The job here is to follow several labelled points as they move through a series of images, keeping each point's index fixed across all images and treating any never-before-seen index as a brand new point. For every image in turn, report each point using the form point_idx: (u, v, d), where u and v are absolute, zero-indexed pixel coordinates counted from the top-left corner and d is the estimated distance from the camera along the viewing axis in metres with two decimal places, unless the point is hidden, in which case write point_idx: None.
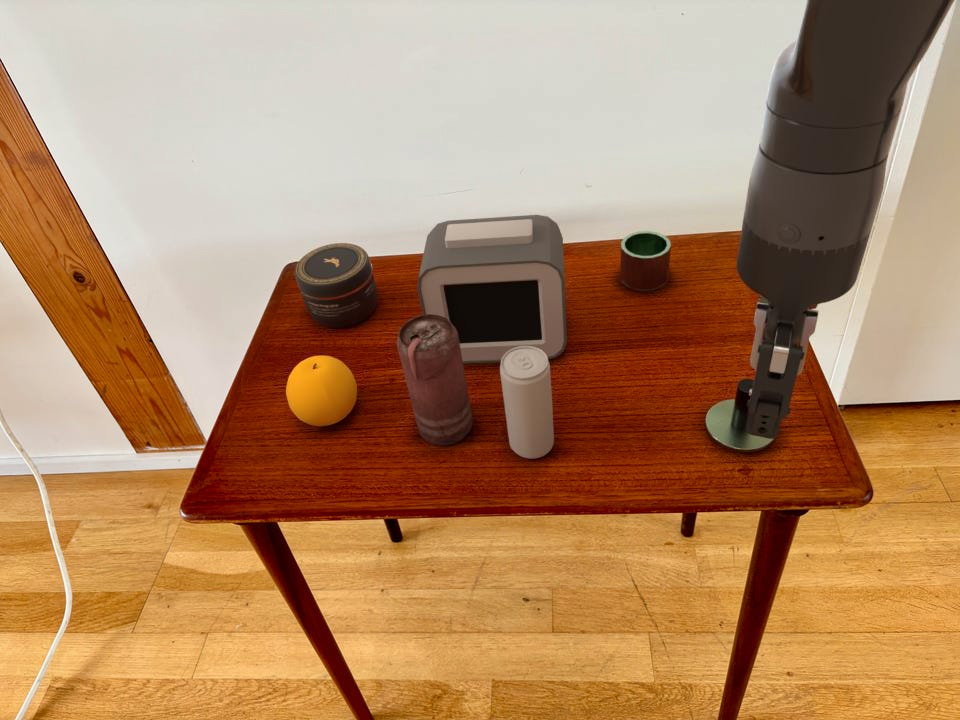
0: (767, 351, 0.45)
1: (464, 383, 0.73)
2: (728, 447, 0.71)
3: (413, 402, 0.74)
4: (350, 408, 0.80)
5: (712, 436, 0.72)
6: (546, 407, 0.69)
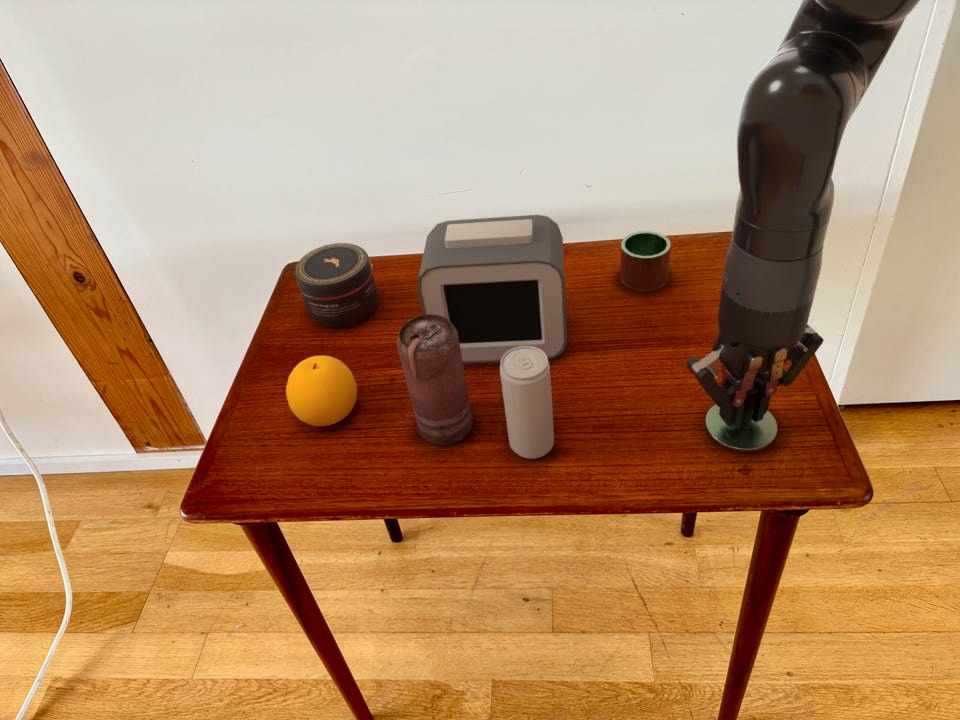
0: (688, 366, 0.66)
1: (464, 383, 0.73)
2: (728, 447, 0.71)
3: (413, 402, 0.74)
4: (350, 408, 0.80)
5: (712, 436, 0.72)
6: (546, 407, 0.69)
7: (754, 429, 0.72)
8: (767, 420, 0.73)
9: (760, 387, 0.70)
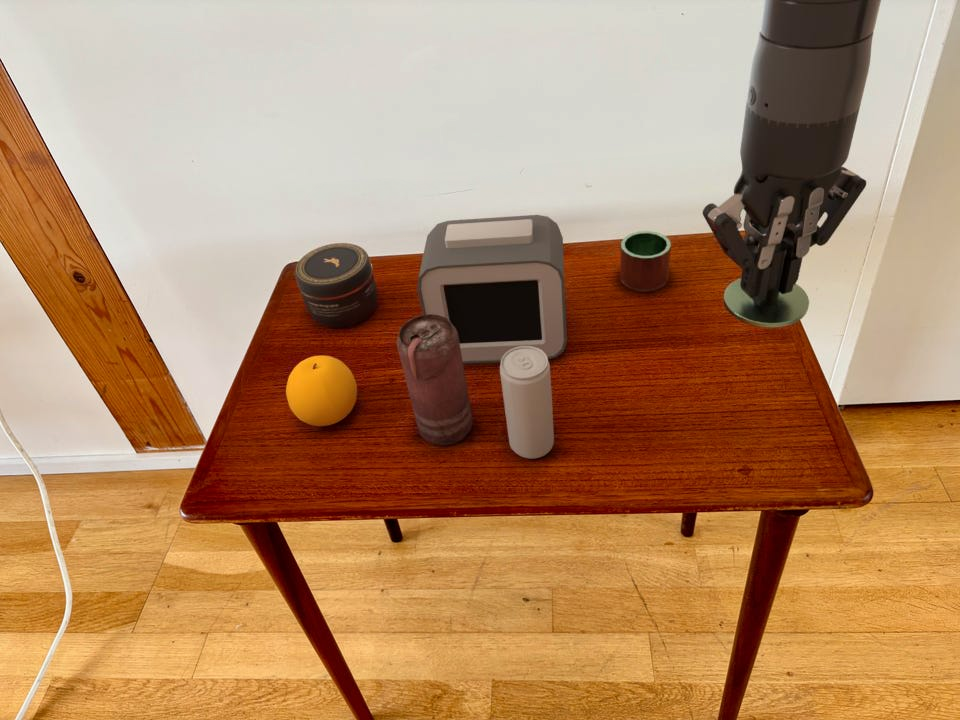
0: (705, 214, 0.55)
1: (464, 383, 0.73)
2: (751, 322, 0.60)
3: (413, 402, 0.74)
4: (350, 408, 0.80)
5: (732, 312, 0.62)
6: (546, 407, 0.69)
7: (782, 303, 0.62)
8: (797, 293, 0.62)
9: (790, 247, 0.59)
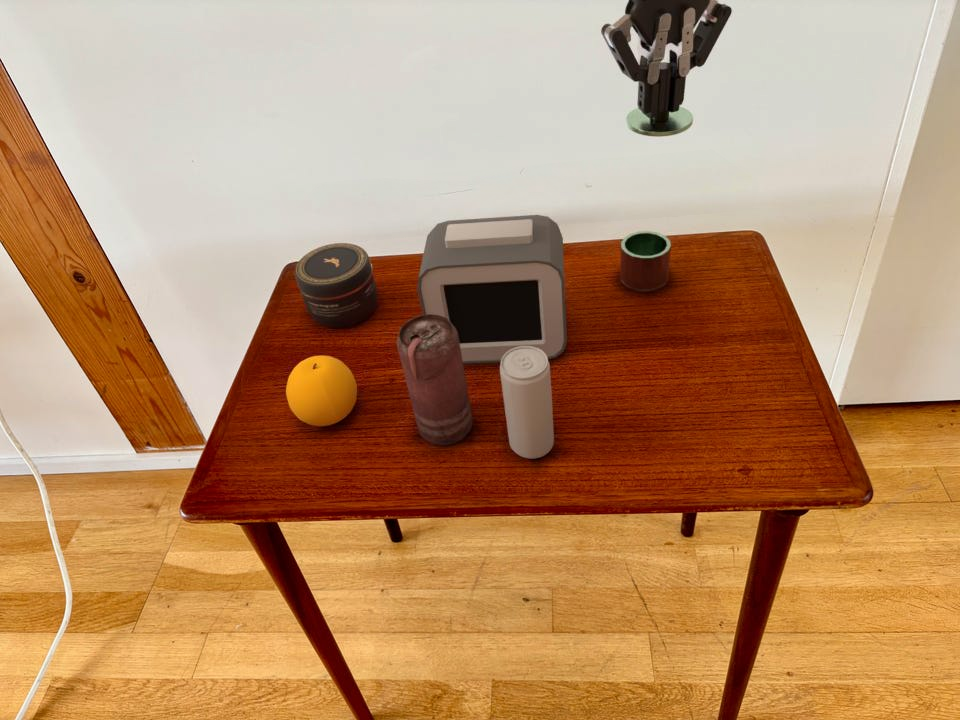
0: (603, 32, 0.69)
1: (464, 383, 0.73)
2: (645, 133, 0.74)
3: (413, 402, 0.74)
4: (350, 408, 0.80)
5: (631, 127, 0.76)
6: (546, 407, 0.69)
7: (671, 120, 0.75)
8: (684, 114, 0.76)
9: (674, 68, 0.73)
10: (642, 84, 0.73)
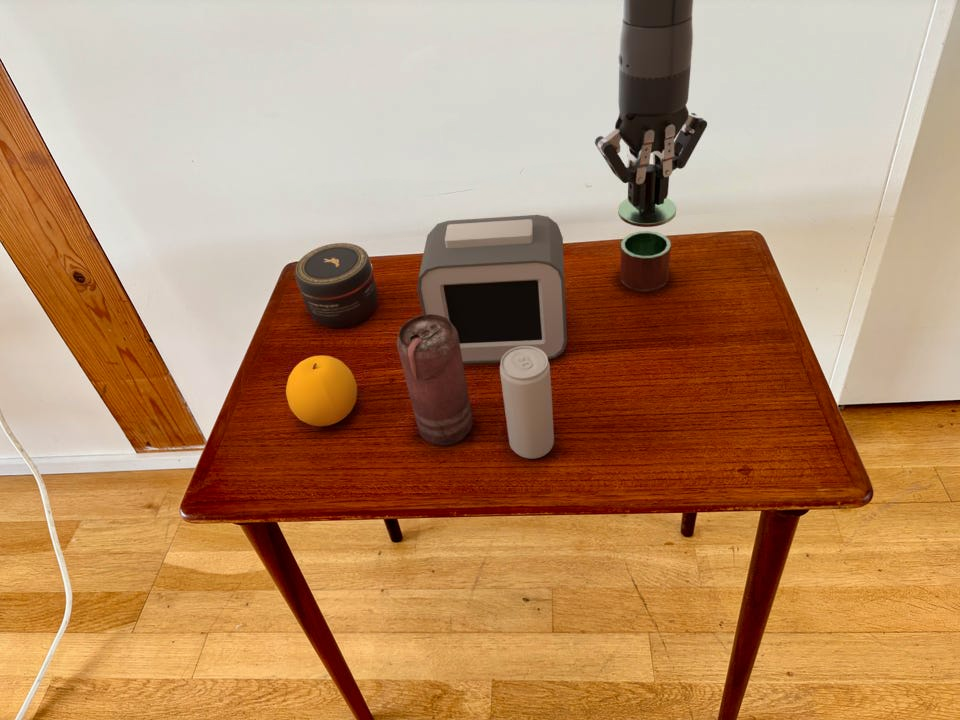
0: (596, 143, 0.81)
1: (464, 383, 0.73)
2: (634, 224, 0.86)
3: (413, 402, 0.74)
4: (350, 408, 0.80)
5: (622, 217, 0.87)
6: (546, 407, 0.69)
7: (657, 211, 0.87)
8: (668, 205, 0.88)
9: (659, 170, 0.84)
10: (631, 183, 0.85)
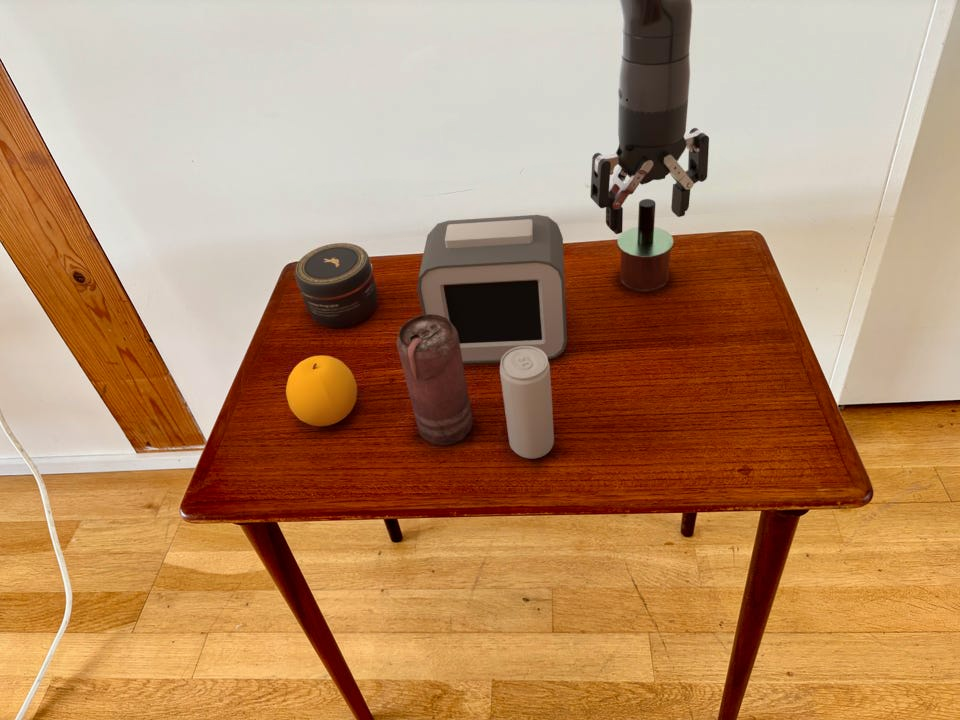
0: (594, 157, 0.82)
1: (464, 383, 0.73)
2: (633, 256, 0.89)
3: (413, 402, 0.74)
4: (350, 408, 0.80)
5: (621, 250, 0.90)
6: (546, 407, 0.69)
7: (655, 244, 0.90)
8: (666, 238, 0.91)
9: None
10: (608, 208, 0.86)
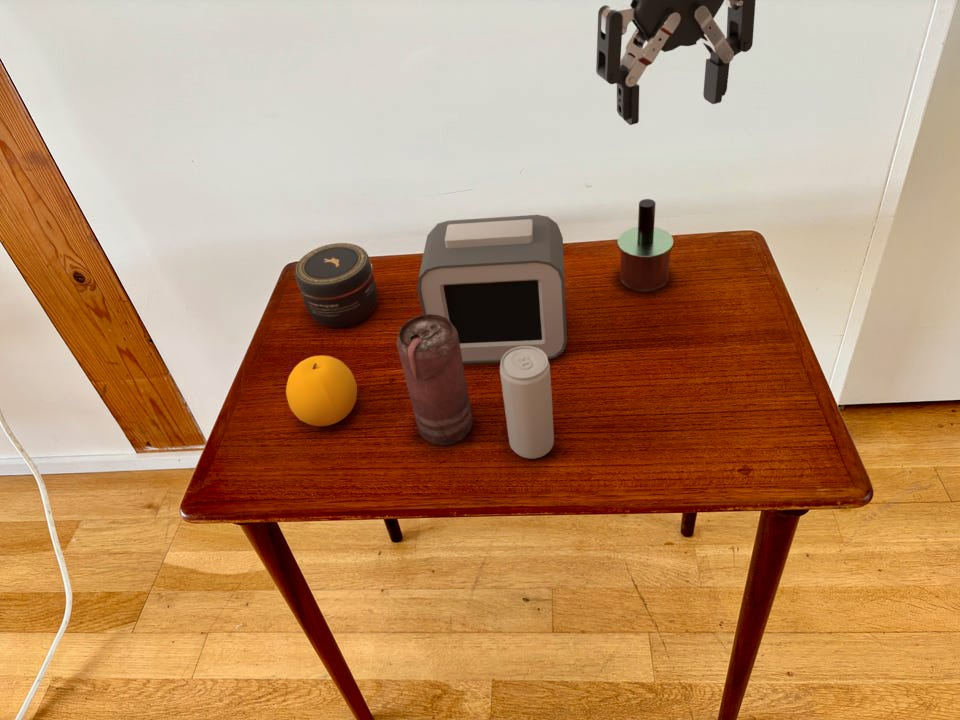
0: (601, 11, 0.61)
1: (464, 383, 0.73)
2: (633, 256, 0.89)
3: (413, 402, 0.74)
4: (350, 408, 0.80)
5: (621, 250, 0.90)
6: (546, 407, 0.69)
7: (655, 244, 0.90)
8: (666, 238, 0.91)
9: (716, 54, 0.65)
10: (620, 87, 0.65)
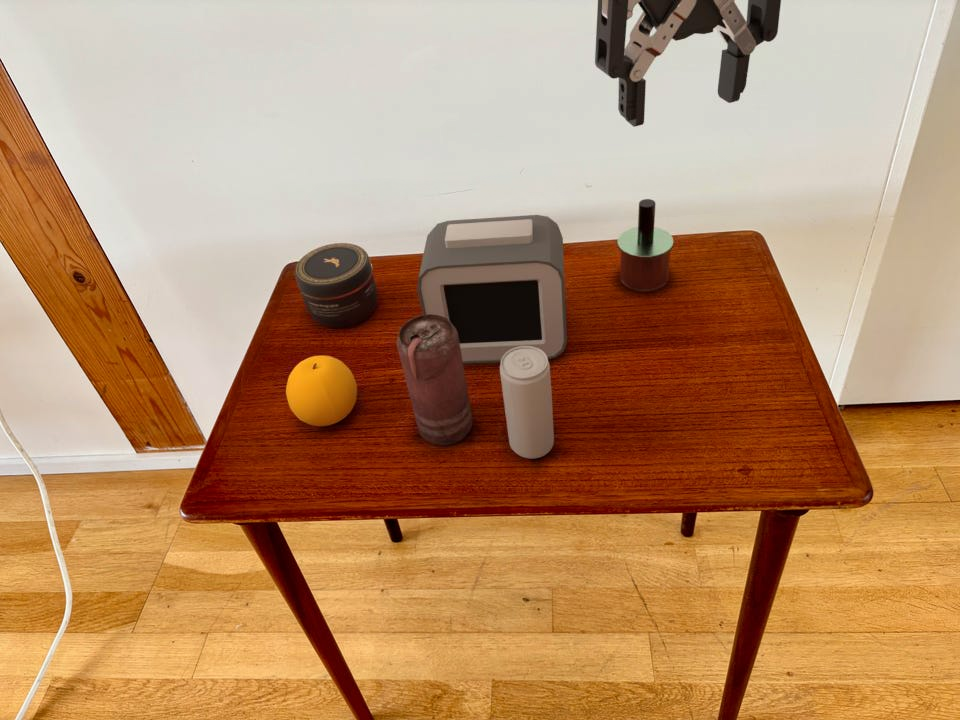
0: None
1: (464, 383, 0.73)
2: (633, 256, 0.89)
3: (413, 402, 0.74)
4: (350, 408, 0.80)
5: (621, 250, 0.90)
6: (546, 407, 0.69)
7: (655, 244, 0.90)
8: (666, 238, 0.91)
9: (735, 44, 0.56)
10: (623, 82, 0.55)
